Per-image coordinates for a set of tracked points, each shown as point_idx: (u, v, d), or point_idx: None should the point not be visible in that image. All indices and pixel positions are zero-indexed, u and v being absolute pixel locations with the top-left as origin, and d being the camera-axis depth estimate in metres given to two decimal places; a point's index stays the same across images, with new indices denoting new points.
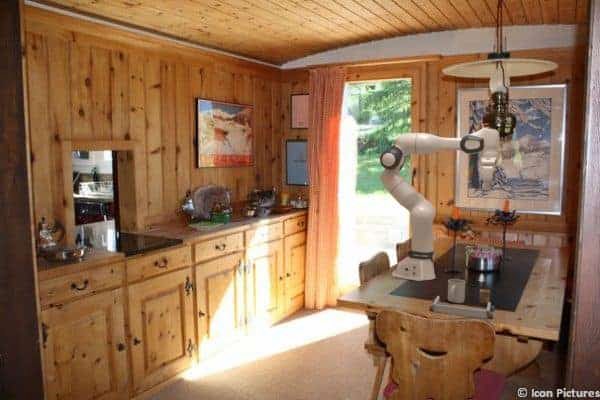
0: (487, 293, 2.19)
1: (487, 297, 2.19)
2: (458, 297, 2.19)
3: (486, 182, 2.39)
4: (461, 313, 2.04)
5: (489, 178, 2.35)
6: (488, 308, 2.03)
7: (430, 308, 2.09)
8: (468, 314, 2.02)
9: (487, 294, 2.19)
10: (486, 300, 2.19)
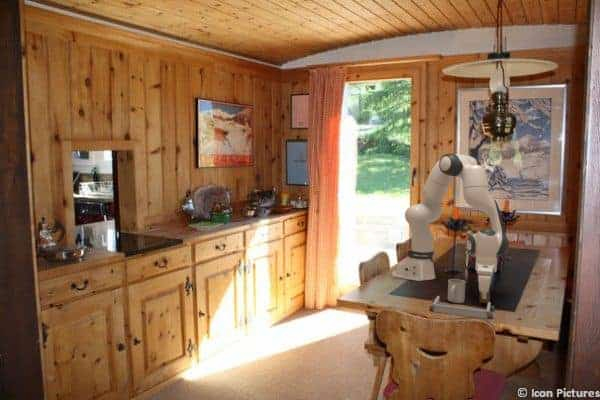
0: (487, 293, 2.19)
1: (487, 297, 2.19)
2: (458, 297, 2.19)
3: None
4: (461, 313, 2.04)
5: (486, 290, 2.11)
6: (488, 308, 2.03)
7: (430, 308, 2.09)
8: (468, 314, 2.02)
9: (487, 294, 2.19)
10: (486, 300, 2.19)
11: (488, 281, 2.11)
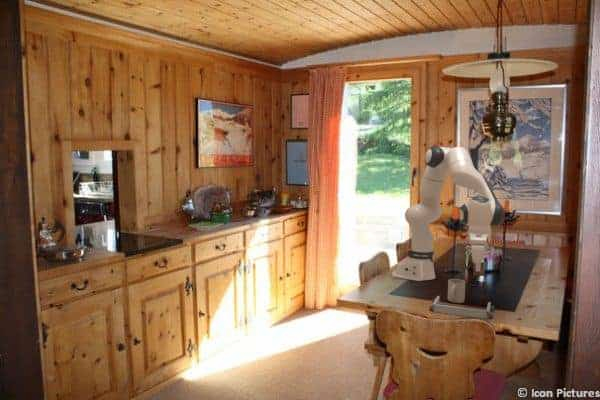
0: (481, 265, 2.04)
1: (481, 269, 2.04)
2: (458, 297, 2.19)
3: (477, 262, 2.02)
4: (461, 313, 2.04)
5: (480, 260, 1.96)
6: (488, 308, 2.03)
7: (430, 308, 2.09)
8: (468, 314, 2.02)
9: (481, 266, 2.04)
10: (480, 272, 2.04)
11: (482, 251, 1.96)
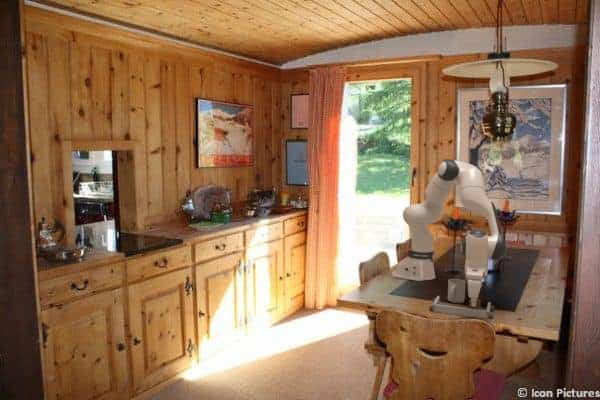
0: (477, 303, 2.05)
1: (477, 307, 2.06)
2: (458, 297, 2.19)
3: (472, 298, 2.02)
4: (461, 313, 2.04)
5: (476, 295, 1.98)
6: (488, 308, 2.03)
7: (430, 308, 2.09)
8: (468, 314, 2.02)
9: (477, 304, 2.06)
10: None
11: (478, 286, 1.97)
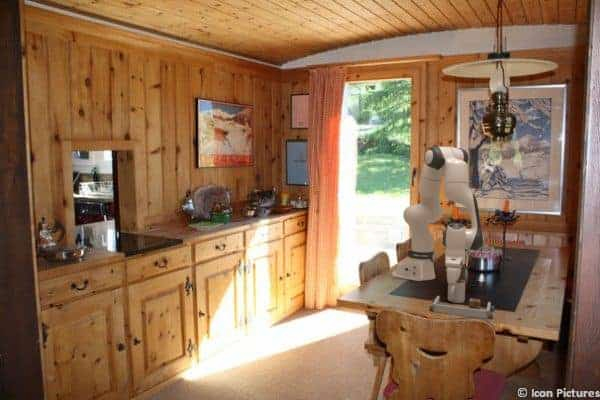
0: (477, 303, 2.05)
1: (477, 307, 2.06)
2: (458, 297, 2.19)
3: None
4: (461, 313, 2.04)
5: (454, 281, 2.18)
6: (488, 308, 2.03)
7: (430, 308, 2.09)
8: (468, 314, 2.02)
9: (477, 304, 2.06)
10: None
11: (456, 273, 2.18)
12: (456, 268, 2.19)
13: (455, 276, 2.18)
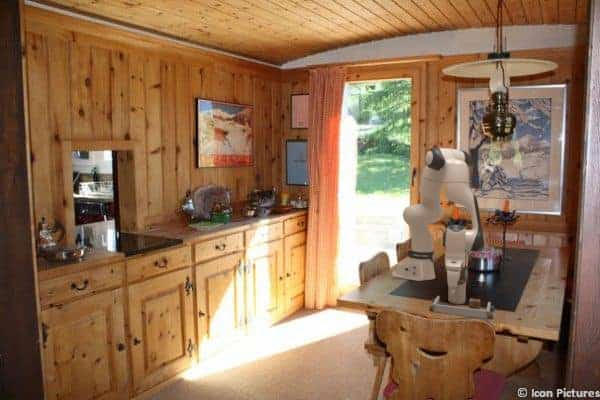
0: (477, 303, 2.06)
1: (477, 307, 2.06)
2: (459, 298, 2.17)
3: None
4: (461, 313, 2.04)
5: (454, 285, 2.15)
6: (488, 308, 2.03)
7: (430, 308, 2.09)
8: (468, 314, 2.02)
9: (477, 304, 2.06)
10: None
11: (456, 276, 2.14)
12: (456, 271, 2.15)
13: (456, 279, 2.15)
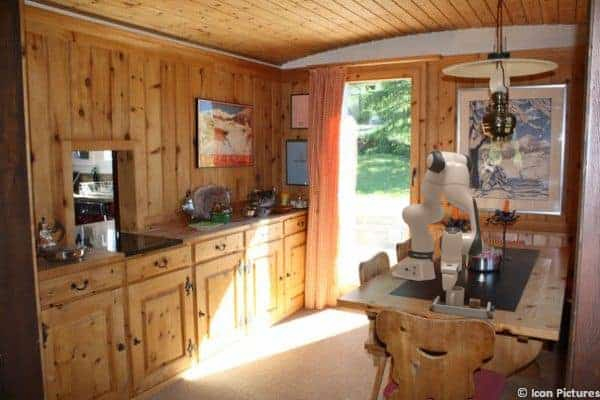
0: (477, 303, 2.06)
1: (477, 307, 2.06)
2: (457, 305, 2.08)
3: None
4: (461, 313, 2.04)
5: (449, 288, 2.09)
6: (488, 308, 2.03)
7: (430, 308, 2.09)
8: (468, 314, 2.02)
9: (477, 304, 2.06)
10: None
11: (451, 280, 2.09)
12: (452, 274, 2.10)
13: (451, 283, 2.09)
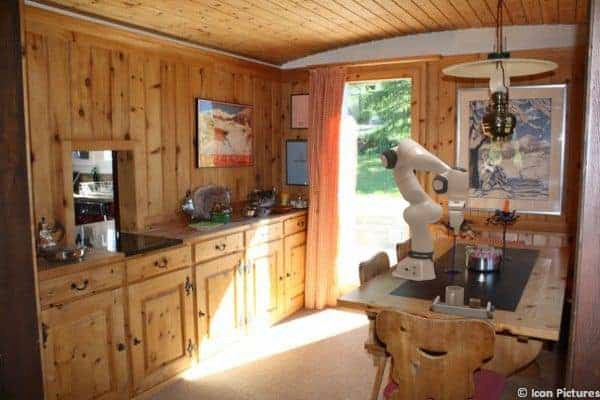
0: (477, 303, 2.05)
1: (477, 307, 2.06)
2: (457, 305, 2.08)
3: (455, 226, 2.22)
4: (461, 313, 2.04)
5: (457, 224, 2.14)
6: (488, 308, 2.03)
7: (430, 308, 2.09)
8: (468, 314, 2.02)
9: (477, 304, 2.06)
10: None
11: (459, 216, 2.14)
12: (459, 211, 2.15)
13: (458, 219, 2.14)
